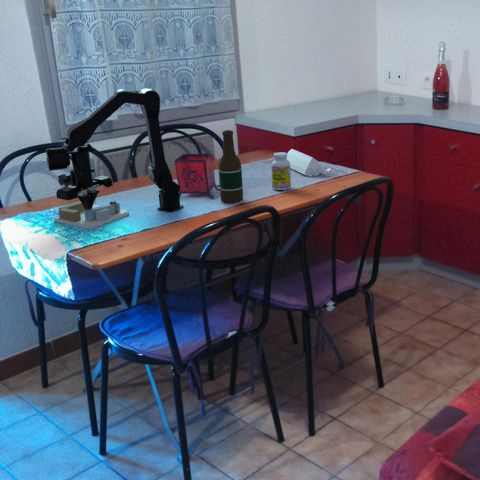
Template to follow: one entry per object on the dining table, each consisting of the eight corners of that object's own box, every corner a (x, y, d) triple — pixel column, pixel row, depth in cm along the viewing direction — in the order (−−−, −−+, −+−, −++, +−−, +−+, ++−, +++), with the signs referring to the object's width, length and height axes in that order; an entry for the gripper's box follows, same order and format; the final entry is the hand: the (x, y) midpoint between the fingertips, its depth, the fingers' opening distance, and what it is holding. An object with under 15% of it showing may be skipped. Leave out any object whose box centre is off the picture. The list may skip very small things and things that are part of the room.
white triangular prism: (277, 157, 279) (301, 168, 257) (290, 146, 280) (316, 157, 258) (286, 171, 282) (311, 184, 261) (299, 161, 283) (325, 172, 261)
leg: (115, 210, 227) (114, 199, 226) (120, 211, 225) (119, 201, 224) (84, 219, 219) (83, 208, 218) (90, 221, 217) (88, 210, 216)
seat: (129, 214, 226) (128, 202, 225) (90, 229, 214) (88, 216, 212) (93, 207, 236) (92, 196, 235) (54, 221, 224) (52, 209, 222)
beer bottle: (216, 201, 235) (211, 131, 227) (231, 196, 241) (227, 128, 233) (232, 205, 230) (227, 133, 222) (248, 199, 235) (244, 129, 228)
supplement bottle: (269, 190, 244) (268, 155, 240) (275, 186, 250) (274, 151, 246) (287, 191, 242) (286, 155, 238) (293, 186, 248) (292, 151, 244)
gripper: (87, 157, 227) (94, 202, 233) (41, 170, 213) (49, 218, 219) (110, 160, 221) (116, 206, 226) (64, 174, 207) (72, 223, 212)
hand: (88, 213), depth 221 cm, fingers closed
